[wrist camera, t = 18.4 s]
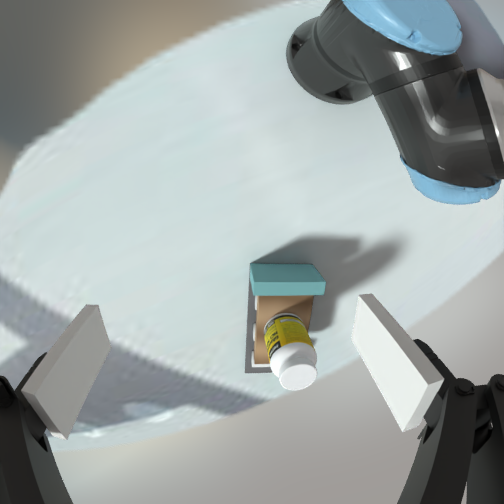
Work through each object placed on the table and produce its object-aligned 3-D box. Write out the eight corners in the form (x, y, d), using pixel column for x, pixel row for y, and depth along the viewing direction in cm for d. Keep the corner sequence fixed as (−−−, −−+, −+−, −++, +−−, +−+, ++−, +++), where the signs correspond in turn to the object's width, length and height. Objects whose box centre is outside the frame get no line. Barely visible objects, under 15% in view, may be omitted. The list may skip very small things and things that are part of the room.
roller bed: (250, 263, 44) (254, 282, 37) (312, 264, 45) (326, 282, 38) (244, 370, 51) (247, 396, 44) (295, 368, 52) (303, 393, 45)
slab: (257, 288, 41) (259, 294, 39) (310, 287, 42) (314, 293, 40) (253, 356, 45) (254, 364, 43) (299, 354, 46) (302, 362, 44)
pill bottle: (265, 310, 40) (277, 359, 30) (306, 311, 41) (328, 357, 30) (260, 344, 42) (270, 395, 32) (299, 344, 43) (317, 393, 32)
